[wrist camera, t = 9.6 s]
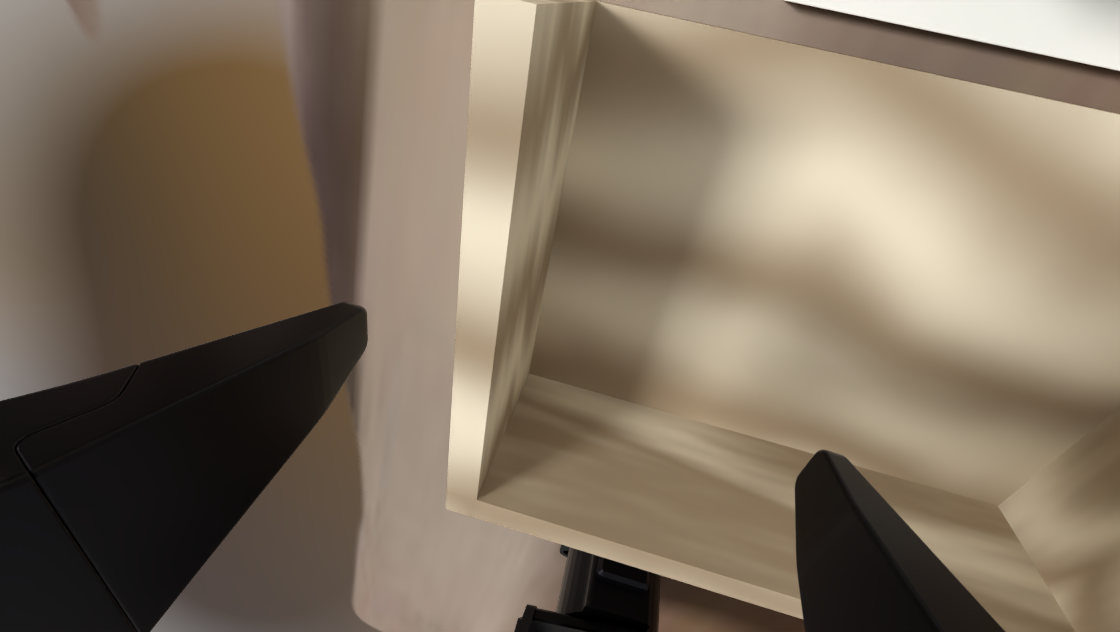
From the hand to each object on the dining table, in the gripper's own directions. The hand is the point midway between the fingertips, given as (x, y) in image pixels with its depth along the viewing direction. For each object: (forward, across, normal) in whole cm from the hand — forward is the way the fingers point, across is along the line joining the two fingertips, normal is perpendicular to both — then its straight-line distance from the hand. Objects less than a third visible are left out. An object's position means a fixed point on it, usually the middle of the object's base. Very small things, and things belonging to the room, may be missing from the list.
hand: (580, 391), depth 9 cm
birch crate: (+12, -9, +2) cm, 15 cm away
